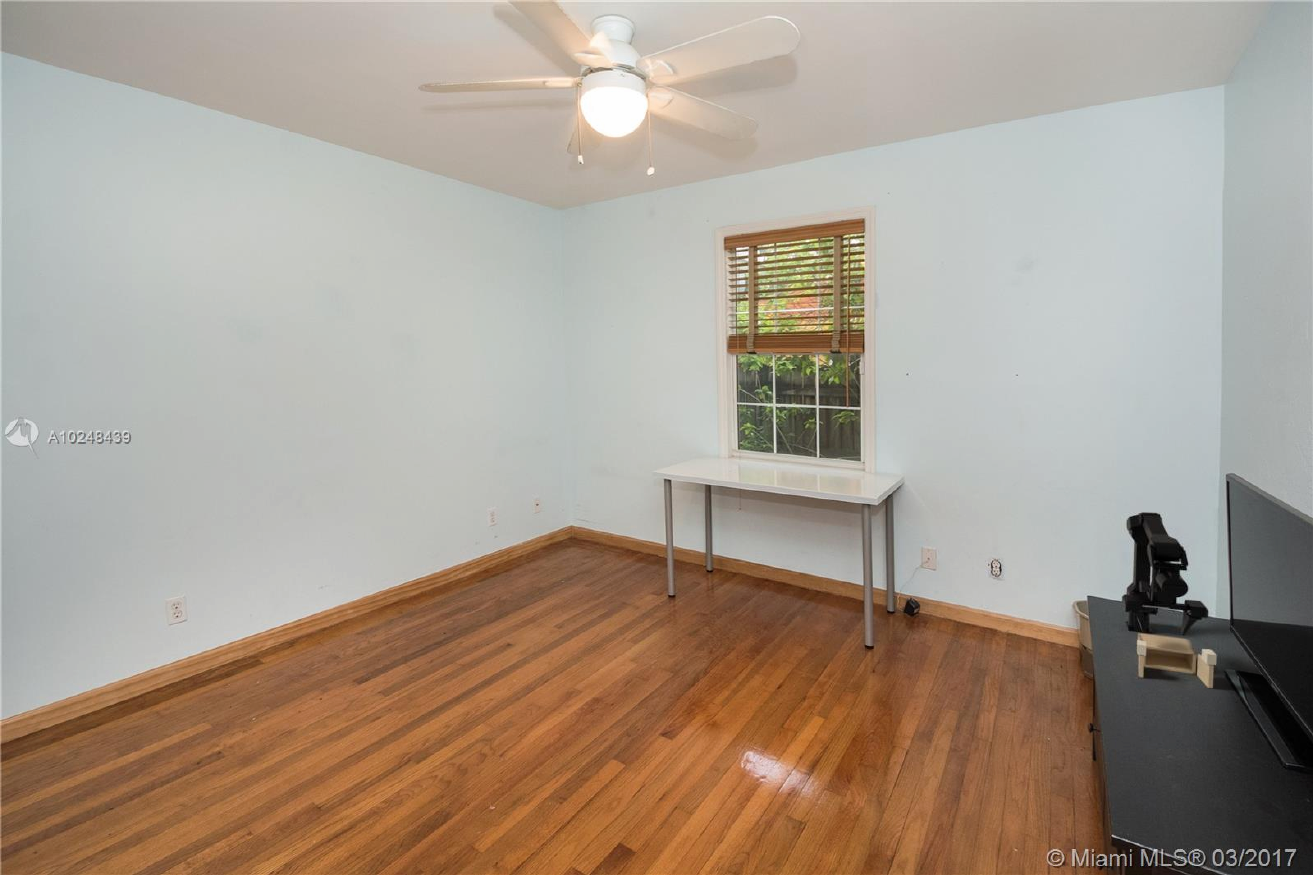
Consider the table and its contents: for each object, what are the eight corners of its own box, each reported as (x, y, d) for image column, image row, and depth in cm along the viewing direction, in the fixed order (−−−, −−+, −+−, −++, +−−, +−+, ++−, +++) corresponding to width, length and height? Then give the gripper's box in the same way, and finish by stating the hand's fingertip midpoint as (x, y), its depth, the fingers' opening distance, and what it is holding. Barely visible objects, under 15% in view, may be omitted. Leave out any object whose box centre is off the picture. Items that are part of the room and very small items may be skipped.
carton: (1137, 652, 187) (1137, 632, 187) (1187, 659, 181) (1188, 639, 180) (1142, 666, 180) (1143, 645, 179) (1195, 674, 174) (1196, 653, 173)
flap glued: (1145, 667, 179) (1145, 636, 177) (1145, 678, 174) (1146, 646, 172) (1136, 666, 180) (1137, 635, 178) (1136, 676, 175) (1137, 644, 173)
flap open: (1206, 687, 167) (1207, 654, 165) (1194, 675, 173) (1196, 643, 171) (1215, 688, 166) (1216, 654, 165) (1203, 676, 172) (1204, 643, 171)
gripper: (1197, 575, 176) (1194, 624, 179) (1118, 569, 185) (1117, 616, 188) (1210, 590, 167) (1207, 642, 169) (1126, 584, 175) (1125, 633, 178)
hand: (1162, 632), depth 176 cm, fingers open, 9 cm apart
